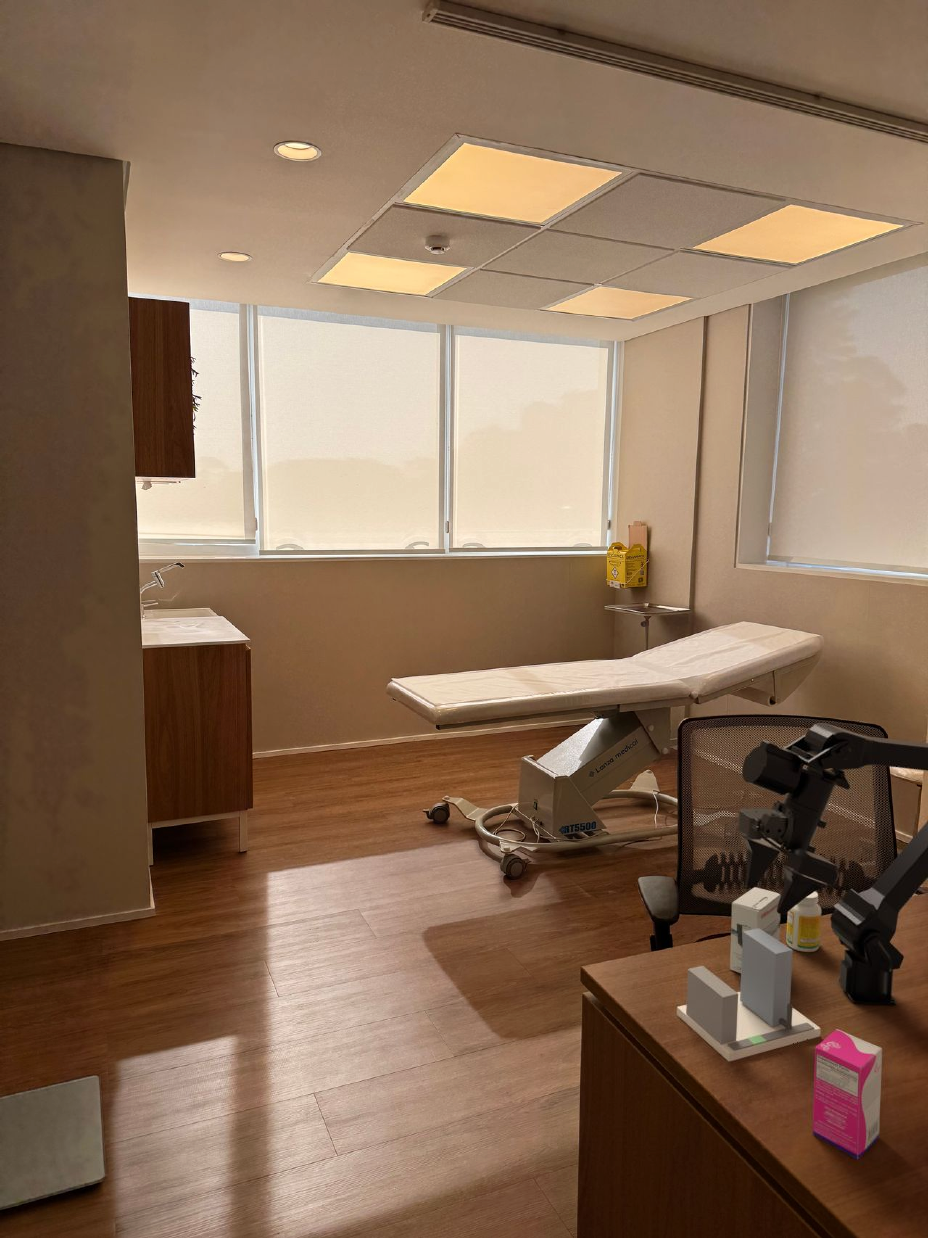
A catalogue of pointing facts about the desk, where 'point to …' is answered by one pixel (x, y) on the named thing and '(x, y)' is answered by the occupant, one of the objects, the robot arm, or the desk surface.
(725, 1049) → the base
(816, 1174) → the desk surface
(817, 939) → the supplement bottle
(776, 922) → the ink box
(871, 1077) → the supplement box
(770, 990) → the block
